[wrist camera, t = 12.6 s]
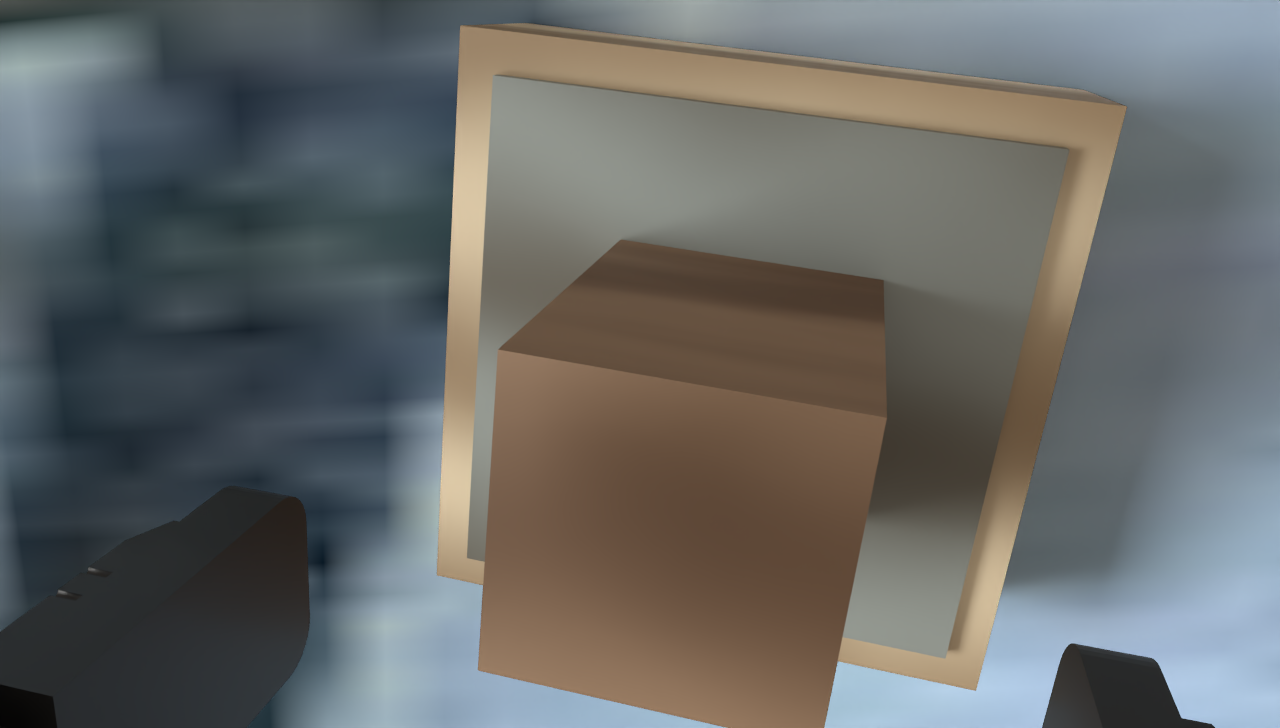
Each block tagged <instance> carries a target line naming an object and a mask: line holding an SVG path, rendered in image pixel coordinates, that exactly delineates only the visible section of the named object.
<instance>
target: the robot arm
mask: <svg viewBox="0 0 1280 728" xmlns="http://www.w3.org/2000/svg"><path fill="white" fill-rule="evenodd" d="M309 623H310V609H309V582H308V554H307V527H306V514H305V510H304V507H303V504H302V503H301V501H300V500H299V499H297V498H295V497H291V496H286V495H281V494H275V493H270V492H264V491H259V490H254V489H248V488H243V487H238V486H228V487H225V488H224V489H222V490H220V491H219V492H218V493H216V494H215V495H214V496H213V497H211V498H210V499H209V500H207V501H206V502H205V503H203V504H202V505H201V506H199V507H198V508H197V509H195V510H194V511H193V512H191V513H190V514H189V515H188V516H186V517H185V518H184V519H182V520H181V521H180V522H178V521H172V522H169V523H167V524H164V525H162V526H160V527H157V528H155V529H152V530H150V531H147V532H145V533H142V534H140V535H137V536H135V537H132V538H130V539H128V540H125V541H124V542H122V543H121V544H120V545H118V546H117V547H116V548H114V549H113V550H111V551H110V552H109V553H107V554H106V555H105V556H103V557H102V558H101V559H99V560H98V561H96V562H95V563H94V564H92V565H91V566H90V567H88V572H87V573H86V574H85V573H80V574H79V575H77V576H76V577H75V578H73V579H72V580H70V581H69V582H68V583H66V584H65V585H64V586H62V587H61V588H60V589H58V593H57V595H56V596H49V597H47V598H46V599H44V600H43V601H42V602H40V603H39V604H38V605H36V606H35V607H34V608H32V609H31V610H29V611H28V612H27V613H25V614H24V615H23V616H21V617H20V618H18V619H17V620H16V621H14V622H13V623H12V624H10V625H9V626H8V627H6V628H5V629H3V630H2V631H1V632H0V728H247V726H248V725H249V724H250V723H251V722H252V721H253V719H254V718H255V717H256V716H257V715H258V714H259V712H260V711H261V710H262V709H263V708H264V707H265V705H266V704H267V703H268V702H269V701H270V700H271V698H272V697H273V696H274V695H275V694H276V693H277V691H278V690H279V689H280V688H281V687H282V686H283V684H284V683H285V682H286V681H287V680H288V679H289V677H290V676H291V675H292V673H293V672H294V670H295V668H296V667H297V665H298V663H299V661H300V658H301V656H302V654H303V651H304V648H305V645H306V641H307V637H308V631H309ZM1042 728H1215V727H1214V726H1213V725H1212V724H1208V723H1203V722H1198V721H1193V720H1187V719H1182V718H1181V717H1180V714H1179V712H1178V709H1177V707H1176V705H1175V702H1174V700H1173V697H1172V695H1171V693H1170V690H1169V688H1168V685H1167V683H1166V681H1165V678H1164V676H1163V673H1162V671H1161V669H1160V667H1159V665H1158V663H1157V662H1156V661H1155V660H1154V659H1152V658H1148V657H1143V656H1137V655H1132V654H1126V653H1121V652H1116V651H1110V650H1105V649H1099V648H1094V647H1089V646H1083V645H1078V644H1070V645H1068V647H1067V648H1066V649H1065V651H1064V653H1063V655H1062V658H1061V661H1060V664H1059V667H1058V671H1057V675H1056V678H1055V682H1054V686H1053V689H1052V693H1051V697H1050V701H1049V704H1048V708H1047V712H1046V715H1045V719H1044V723H1043V727H1042Z"/></svg>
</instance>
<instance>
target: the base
mask: <svg viewBox="0 0 1280 728" xmlns="http://www.w3.org/2000/svg"><path fill="white" fill-rule="evenodd" d="M1126 109H1127V106H1124V105H1122V104H1119V103H1117V102H1114V101H1111V100H1109V99H1106V98H1104V97H1101V96H1098V95H1096V94H1093V93H1091V92H1088V91H1086V90H1081V89H1073V88H1064V87H1056V86H1048V85H1039V84H1031V83H1023V82H1014V81H1006V80H998V79H989V78H981V77H973V76H964V75H956V74H947V73H939V72H931V71H922V70H914V69H906V68H897V67H889V66H881V65H872V64H864V63H856V62H847V61H839V60H831V59H822V58H814V57H806V56H797V55H789V54H780V53H772V52H764V51H755V50H747V49H739V48H730V47H722V46H714V45H705V44H697V43H689V42H680V41H672V40H664V39H655V38H647V37H639V36H630V35H622V34H613V33H605V32H597V31H588V30H580V29H572V28H563V27H555V26H547V25H538V24H530V23H515V24H488V25H461V26H460V46H459V70H458V93H457V116H456V139H455V163H454V186H453V209H452V233H451V256H450V279H449V303H448V326H447V349H446V372H445V396H444V419H443V442H442V466H441V489H440V512H439V536H438V559H437V575H438V576H443V577H447V578H452V579H457V580H461V581H466V582H471V583H475V584H480V585H483V581H484V564H485V548H486V532H487V516H488V500H489V484H490V468H491V452H492V435H493V419H494V403H495V387H496V371H497V355H498V349H499V348H500V347H501V346H502V345H503V344H505V343H506V342H507V341H508V340H509V339H510V338H511V337H512V336H513V335H515V334H516V333H517V332H518V331H519V330H520V329H521V328H522V327H524V326H525V325H526V324H527V323H528V322H529V321H530V320H531V319H532V318H534V317H535V316H536V315H537V314H538V313H539V312H540V311H541V310H542V309H544V308H545V307H546V306H547V305H548V304H549V303H550V302H551V301H553V300H554V299H555V298H556V297H557V296H558V295H559V294H560V293H561V292H563V291H564V290H565V289H566V288H567V287H568V286H569V285H570V284H572V283H573V282H574V281H575V280H576V279H577V278H578V277H579V276H580V275H582V274H583V273H584V272H585V271H586V270H587V269H588V268H589V267H590V266H592V265H593V264H594V263H595V262H596V261H597V260H598V259H599V258H601V257H602V256H603V255H604V254H605V253H606V252H607V251H608V250H609V249H611V248H612V247H613V246H614V245H615V244H616V243H617V242H618V241H620V240H627V241H634V242H640V243H647V244H653V245H660V246H666V247H673V248H679V249H686V250H692V251H699V252H705V253H712V254H718V255H725V256H731V257H737V258H744V259H750V260H757V261H763V262H770V263H776V264H783V265H789V266H796V267H802V268H809V269H815V270H822V271H828V272H835V273H841V274H848V275H854V276H861V277H867V278H874V279H880V280H884V317H885V357H886V397H887V420H886V425H885V430H884V435H883V440H882V445H881V450H880V455H879V460H878V465H877V470H876V475H875V480H874V484H873V489H872V494H871V499H870V504H869V509H868V514H867V519H866V524H865V529H864V534H863V539H862V544H861V548H860V553H859V558H858V563H857V568H856V573H855V578H854V583H853V588H852V593H851V598H850V603H849V608H848V612H847V617H846V622H845V627H844V632H843V637H842V642H841V647H840V652H839V657H838V661H840V662H844V663H849V664H854V665H858V666H863V667H868V668H872V669H877V670H882V671H886V672H891V673H896V674H900V675H905V676H910V677H914V678H919V679H924V680H928V681H933V682H938V683H942V684H947V685H952V686H956V687H961V688H966V689H970V690H975V691H976V688H977V684H978V680H979V677H980V673H981V669H982V665H983V661H984V657H985V653H986V650H987V646H988V642H989V638H990V634H991V630H992V626H993V622H994V619H995V615H996V611H997V607H998V603H999V599H1000V595H1001V592H1002V588H1003V584H1004V580H1005V576H1006V572H1007V568H1008V565H1009V561H1010V557H1011V553H1012V549H1013V545H1014V541H1015V538H1016V534H1017V530H1018V526H1019V522H1020V518H1021V514H1022V510H1023V507H1024V503H1025V499H1026V495H1027V491H1028V487H1029V483H1030V480H1031V476H1032V472H1033V468H1034V464H1035V460H1036V456H1037V453H1038V449H1039V445H1040V441H1041V437H1042V433H1043V429H1044V426H1045V422H1046V418H1047V414H1048V410H1049V406H1050V402H1051V398H1052V395H1053V391H1054V387H1055V383H1056V379H1057V375H1058V371H1059V368H1060V364H1061V360H1062V356H1063V352H1064V348H1065V344H1066V341H1067V337H1068V333H1069V329H1070V325H1071V321H1072V317H1073V314H1074V310H1075V306H1076V302H1077V298H1078V294H1079V290H1080V287H1081V283H1082V279H1083V275H1084V271H1085V267H1086V263H1087V259H1088V256H1089V252H1090V248H1091V244H1092V240H1093V236H1094V232H1095V229H1096V225H1097V221H1098V217H1099V213H1100V209H1101V205H1102V202H1103V198H1104V194H1105V190H1106V186H1107V182H1108V178H1109V175H1110V171H1111V167H1112V163H1113V159H1114V155H1115V151H1116V147H1117V144H1118V140H1119V136H1120V132H1121V128H1122V124H1123V120H1124V117H1125V113H1126Z"/></svg>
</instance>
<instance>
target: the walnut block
mask: <svg viewBox="0 0 1280 728" xmlns="http://www.w3.org/2000/svg"><path fill="white" fill-rule="evenodd" d="M886 420H887V397H886V357H885V317H884V280H880V279H874V278H867V277H861V276H854V275H848V274H841V273H835V272H828V271H822V270H815V269H809V268H802V267H796V266H789V265H783V264H776V263H770V262H763V261H757V260H750V259H744V258H737V257H731V256H725V255H718V254H712V253H705V252H699V251H692V250H686V249H679V248H673V247H666V246H660V245H653V244H647V243H640V242H634V241H627V240H620V241H618V242H617V243H616V244H615V245H614V246H613V247H612V248H611V249H609V250H608V251H607V252H606V253H605V254H604V255H603V256H602V257H601V258H599V259H598V260H597V261H596V262H595V263H594V264H593V265H592V266H590V267H589V268H588V269H587V270H586V271H585V272H584V273H583V274H582V275H580V276H579V277H578V278H577V279H576V280H575V281H574V282H573V283H572V284H570V285H569V286H568V287H567V288H566V289H565V290H564V291H563V292H561V293H560V294H559V295H558V296H557V297H556V298H555V299H554V300H553V301H551V302H550V303H549V304H548V305H547V306H546V307H545V308H544V309H542V310H541V311H540V312H539V313H538V314H537V315H536V316H535V317H534V318H532V319H531V320H530V321H529V322H528V323H527V324H526V325H525V326H524V327H522V328H521V329H520V330H519V331H518V332H517V333H516V334H515V335H513V336H512V337H511V338H510V339H509V340H508V341H507V342H506V343H505V344H503V345H502V346H501V347H500V348H499V349H498V355H497V371H496V387H495V403H494V419H493V435H492V452H491V468H490V484H489V500H488V516H487V532H486V548H485V564H484V581H483V597H482V613H481V629H480V645H479V661H478V670H479V671H483V672H487V673H492V674H496V675H500V676H505V677H509V678H513V679H518V680H522V681H526V682H531V683H535V684H539V685H544V686H548V687H553V688H557V689H561V690H566V691H570V692H574V693H579V694H583V695H587V696H592V697H596V698H600V699H605V700H609V701H614V702H618V703H622V704H627V705H631V706H635V707H640V708H644V709H648V710H653V711H657V712H661V713H666V714H670V715H674V716H679V717H683V718H688V719H692V720H696V721H701V722H705V723H709V724H714V725H718V726H722V727H727V728H824V726H825V721H826V716H827V711H828V706H829V701H830V696H831V691H832V686H833V681H834V676H835V672H836V667H837V662H838V657H839V652H840V647H841V642H842V637H843V632H844V627H845V622H846V617H847V612H848V608H849V603H850V598H851V593H852V588H853V583H854V578H855V573H856V568H857V563H858V558H859V553H860V548H861V544H862V539H863V534H864V529H865V524H866V519H867V514H868V509H869V504H870V499H871V494H872V489H873V484H874V480H875V475H876V470H877V465H878V460H879V455H880V450H881V445H882V440H883V435H884V430H885V425H886Z"/></svg>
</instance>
